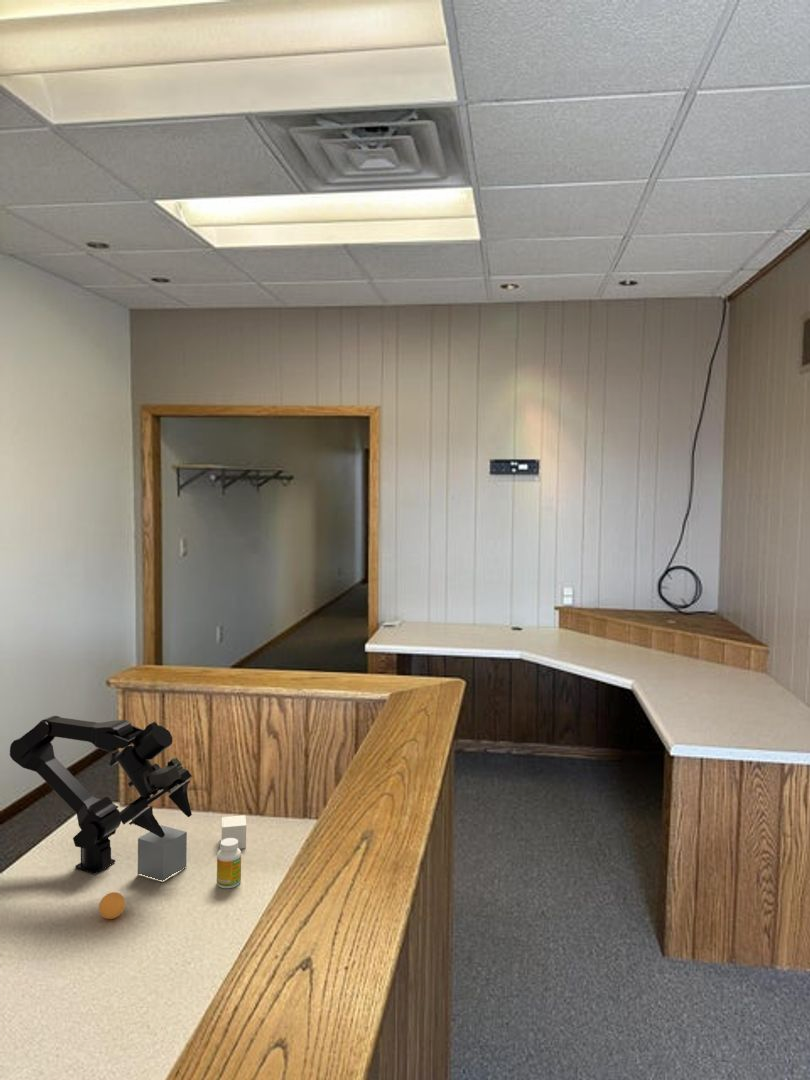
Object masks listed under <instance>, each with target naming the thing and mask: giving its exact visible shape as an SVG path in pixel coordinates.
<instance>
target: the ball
mask: <svg viewBox="0 0 810 1080" xmlns="http://www.w3.org/2000/svg"><path fill="white" fill-rule="evenodd" d="M125 905H126V901H125V898H124V896H123V895H122V894H121V893H119V892H114V891H113V892H109V893H106V895H104V896H103V897H102V899H100V902H99V905H98V906H99V907H98V911H99V914H100V915H101V916H102V917H103V918H104V919H106V920H112V919H113V920H114V919H116V918H118V917H119V916H120V915H121V914H122V913H123V911H124V909H125Z"/></svg>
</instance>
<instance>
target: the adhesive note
mask: <svg viewBox="0 0 810 1080" xmlns="http://www.w3.org/2000/svg"><path fill="white" fill-rule="evenodd" d="M246 817H247V816H246V815H245V814H244V815H243V814H242V815H234V816H222V817H221V838H220V839H221V841H222V840H223V839H226V838H235V839H237V840H238V848H239V849H240V850H241V849H246V848H247V821H246V820H247V819H246ZM221 841H220V842H221Z"/></svg>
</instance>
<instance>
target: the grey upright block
mask: <svg viewBox="0 0 810 1080" xmlns="http://www.w3.org/2000/svg"><path fill="white" fill-rule="evenodd" d="M160 826H161V828H162V830H163V832H164V834H165V836H164V837H162V838H161V837H159V836H157V835H155V834H153V833H152V832H150V831H148V832H147V833H145V834H143V835H142V836H140V837H138V838H137V875H138V874H142V875H145V876H148V877H152V878H155V879H158V880H162V881H163V880H165V879H166V878H168V877H169V876H171V875H172V874H174V873H176V872H178V871H180V870H182V869H183V868H185V867H186V868H187V855H188V854H187V849H188V848H187V845H188V843H187V841H188V838H187V837H188V836H187V835H188V834H187V833H188V832H187V831H184V830H182V829H177V828H173V827H170V826H165V825H162V824H160Z"/></svg>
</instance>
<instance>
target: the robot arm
mask: <svg viewBox="0 0 810 1080" xmlns="http://www.w3.org/2000/svg"><path fill="white" fill-rule="evenodd" d="M55 738H59V739H60V738H61V739H68V740H73V741H74V740H75V741H81V742H87V743H91V744H93V745H94V747H95V748H97V749H100V750H102V751H105V752H112V754H111V758H110V761H109V766H110V767H113V766H115V765H116V764H119V765H120V767H121V769H122V770H123V772H124V773H125V775H126V776H127V777H128V779H129V782H128V783H127V785H128V787H129V788H132V787H133V786H134V788H135V790H136V792H137V793H138V794H139V797H137V799H135V800H134V801H131V802H130V804H128V805H126V806H125V807H124V809H122V810H121V811H119V809H118V808H119V806H118V805H116V804H115V803H113V801H112V800H111V798H110V797H108V796H106V795H105V796H104V797H102V798H96V797H95V796H93V795H92V794H91V793H90V792H89V791H88V790H87V789H86V787H84V785H83V784H82V783H81V782H80V781H78V779H77V778H76V777H75V776H74V775H73V774H72V773H71V772H70V771H69V769H67V768H66V767H65V766H64V765H63V764H62V763H61V762H60V761H59V759H57V757H56V756H55V752H54V750H55V749H54V746H53V744H52V742H53V741H54V740H55ZM172 743H173V736H172V734H171V732H170V730H169V729H166V727H164V726H163V725H159V724H158V723H157V722H156V721H153V722H151V723H149V724H147V726H145V728H144V729H143V728H140V727H138V726H134V725H132V724H131V722H130V721H128V720H126V719H118V720H110V721H103V722H96V721H88V720H79V719H74V718H66V717H61V716H58V715H52V716H50V717H47V718H45V719H42V720H40V721H39V722H38V723H37V724H36V725H35V726H34V727H32V728H31V729H30V730H29V731H28V732H26V733H25V734H23V735H22V736H21V737H20V738H17V739H15V740H13V741H12V742H11V744H10V747H9V756H10V758H11V759H12V761H14V762H15V763H16V764H17V765H19V766H20V767H21V768H22V769H26V770H29V771H32V772H36V773H37V774H38V775H39V776H40V777H41V778H42V780H44V782H46V784H47V785H49V787H50V788H51V789H52V790H53V791H54V792H55V793H56V794H57V796H59V797H60V798H61V799H62V800H63V802H65V803H66V804H67V805H68V806H69V807H70V809H72V811H73V812H74V813H76V819H77V824H78V827H79V829H80V831H79V832H77V834H75V836H73V838H72V840H73V842H74V847H76V848H80V862H79V863H77V864H76V865H75V866H74V868H75V869H77V868H78V870H80V869H81V870H80V871H83V870H84V871H83V872H86V871H87V872H86V873H89V872H91V873H90V874H92V873H96V872H97V873H99V872H101V871H102V870H101V869H103V868H104V869H106V868H108V867H109V866H108V865H110V864H112V863H113V864H115V863H116V859H114V858H112V847H111V839H109V838H110V837H112V836H113V835H116V832H117V829H118V828H119V827H120V825H121V823H122V824H123V826H124V825H126V824H127V823H128V822H129V823H128V824H129V825H130V826H131V825H135V826H137V827H140V828H141V829H144V830H147V832H152V833H153V834H155V835H157V836H159V837H161V838H162V837H164V836H165V834H164V832H163V830H162V828H161V824H160V823H159V822H158V820H157V818H156V817H155V816H154V812H153V805H151V806H150V807H149V805H150V804H151V803H153V802H154V801H156V800H158V799H159V798H160V797H162V796H164V795H165V794H167V793H170V794H169V795H168V797H169V799H170V800H171V801H172V802H173V804H175V806H176V807H177V808H178V809H179V810H180V811H181V812H182V813H183V814H184V815H185V816H186V817H188V818H191V816H192V815H193V814H192V813H193V812H192V809H191V805H190V801H189V796H188V787H189V784H190V783H191V780H189V779H191V778H192V777H193V775H192V774H191V772H190V771H189V770H188V769H186V768H184V767H183V764H182V762H181V761H180V760H179V759H178V757H176V758H172V759H170V760H169V761H167V763H166V764H167V765H166V766H165V765H164V766H163V767H161V766H160V765H159V764H158V763H154V764H153V763H152V761H151V760H154V759H155V758H156V757H157V756H159V755H160V754H161V753H163V752H164V751H165V750H166V749H168V748H170V746H171V745H173V744H172ZM119 749H121V750H120V751H119ZM114 862H115V863H114ZM113 864H112V865H113ZM107 866H108V867H107ZM110 866H111V865H110ZM105 867H106V868H105ZM104 869H103V870H104ZM100 870H101V871H100ZM98 871H99V872H98ZM97 873H96V874H97Z"/></svg>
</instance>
